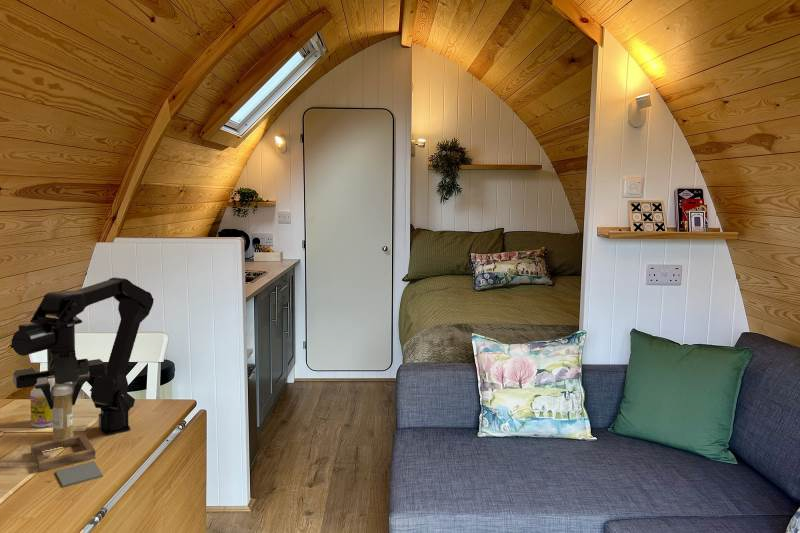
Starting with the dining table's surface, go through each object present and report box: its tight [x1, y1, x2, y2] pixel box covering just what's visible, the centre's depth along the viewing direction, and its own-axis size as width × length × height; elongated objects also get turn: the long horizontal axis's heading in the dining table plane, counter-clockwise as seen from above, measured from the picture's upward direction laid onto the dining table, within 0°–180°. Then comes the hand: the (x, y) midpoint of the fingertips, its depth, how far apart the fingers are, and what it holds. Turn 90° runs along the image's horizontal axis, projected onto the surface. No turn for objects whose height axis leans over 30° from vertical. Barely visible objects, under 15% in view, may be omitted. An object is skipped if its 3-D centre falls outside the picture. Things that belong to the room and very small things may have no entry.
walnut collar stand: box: [30, 433, 96, 473], centre depth 134 cm, size 12×12×2 cm
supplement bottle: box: [29, 378, 56, 428], centre depth 150 cm, size 7×7×13 cm
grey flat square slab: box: [55, 460, 104, 488], centre depth 126 cm, size 8×8×1 cm
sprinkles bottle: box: [51, 382, 75, 441], centre depth 133 cm, size 5×5×14 cm
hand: (62, 406), depth 133 cm, fingers closed on sprinkles bottle, 4 cm apart
